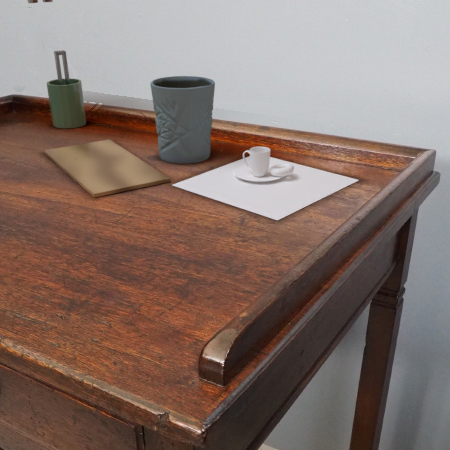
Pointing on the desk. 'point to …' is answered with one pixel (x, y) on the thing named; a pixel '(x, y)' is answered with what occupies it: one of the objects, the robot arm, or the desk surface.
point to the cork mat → (105, 167)
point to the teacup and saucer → (266, 184)
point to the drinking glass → (183, 117)
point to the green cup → (66, 103)
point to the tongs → (63, 66)
